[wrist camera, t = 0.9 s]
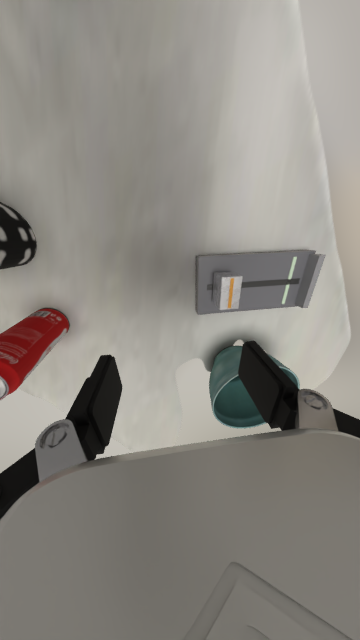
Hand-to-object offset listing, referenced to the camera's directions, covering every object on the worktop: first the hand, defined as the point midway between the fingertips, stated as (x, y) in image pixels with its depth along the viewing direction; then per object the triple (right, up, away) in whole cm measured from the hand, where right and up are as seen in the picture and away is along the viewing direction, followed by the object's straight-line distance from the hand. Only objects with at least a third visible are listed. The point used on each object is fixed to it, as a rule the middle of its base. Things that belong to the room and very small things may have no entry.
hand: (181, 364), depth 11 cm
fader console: (+13, +10, +19) cm, 25 cm away
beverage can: (-23, +3, +18) cm, 30 cm away
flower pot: (+12, -7, +28) cm, 31 cm away
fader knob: (+7, +9, +17) cm, 20 cm away
